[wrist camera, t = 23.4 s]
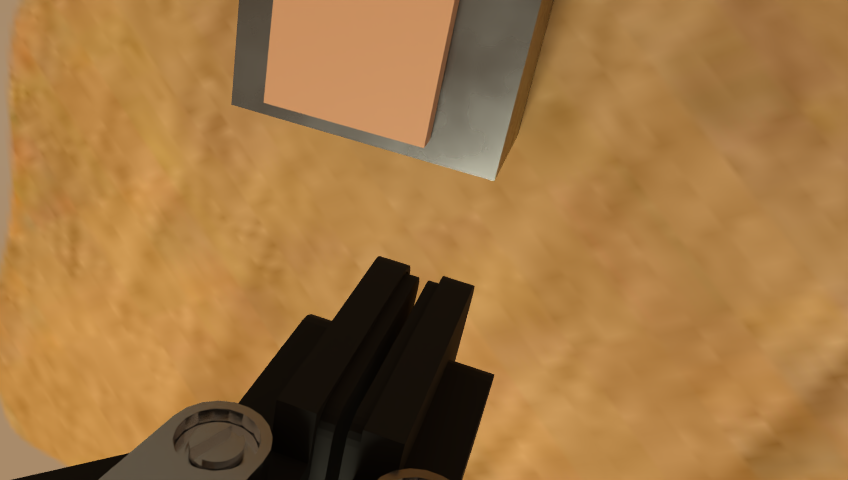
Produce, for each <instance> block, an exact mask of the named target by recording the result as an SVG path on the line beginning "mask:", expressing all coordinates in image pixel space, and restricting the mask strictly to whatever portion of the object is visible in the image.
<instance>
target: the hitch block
mask: <svg viewBox="0 0 848 480" xmlns="http://www.w3.org/2000/svg"><path fill="white" fill-rule="evenodd" d="M553 2H554V0H459V5H458V10H457V14H456V19H455V24H454V29H453V33H452V38H451V43H450V47H449V52H448V57H447V62H446V66H445V71H444V76H443V81H442V85H441V90H440V95H439V100H438V104H437V109H436V114H435V119H434V123H433V128H432V133H431V138H430V141H429V142H428V143H427V145H426V146H425V147H424V148H422V147H418V146H414V145H411V144H407V143H404V142H400V141H397V140H393V139H390V138H386V137H383V136H379V135H376V134H372V133H369V132H365V131H362V130H358V129H354V128H351V127H347V126H344V125H340V124H337V123H333V122H330V121H326V120H323V119H319V118H316V117H312V116H309V115H305V114H302V113H298V112H295V111H291V110H287V109H284V108H280V107H277V106H273V105H270V104H266V103H264V93H265V82H266V72H267V61H268V50H269V40H270V29H271V19H272V8H273V0H239V10H238V23H237V37H236V50H235V64H234V77H233V91H232V104H231V105H235V106H238V107H242V108H245V109H248V110H252V111H255V112H259V113H262V114H266V115H269V116H272V117H276V118H279V119H283V120H286V121H290V122H293V123H296V124H300V125H303V126H307V127H310V128H314V129H317V130H320V131H324V132H327V133H331V134H334V135H338V136H341V137H344V138H348V139H351V140H355V141H358V142H362V143H365V144H368V145H372V146H375V147H379V148H382V149H386V150H389V151H392V152H396V153H399V154H403V155H406V156H410V157H413V158H416V159H420V160H423V161H427V162H430V163H433V164H437V165H440V166H444V167H447V168H451V169H454V170H457V171H461V172H464V173H468V174H471V175H475V176H478V177H481V178H485V179H488V180H492V181H495V179H496V177H497V175H498V173H499V171H500V169H501V167H502V165H503V163H504V161H505V159H506V157H507V155H508V153H509V151H510V149H511V147H512V146H513V144H514V142H515V140H516V138H517V135H518V131H519V128H520V124H521V120H522V117H523V113H524V109H525V106H526V102H527V98H528V94H529V91H530V87H531V83H532V80H533V76H534V72H535V68H536V65H537V61H538V57H539V54H540V50H541V46H542V42H543V39H544V35H545V31H546V28H547V24H548V20H549V16H550V13H551V9H552V5H553Z"/></svg>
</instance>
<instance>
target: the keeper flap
mask: <svg viewBox="0 0 848 480" xmlns="http://www.w3.org/2000/svg"><path fill="white" fill-rule="evenodd" d="M458 5H459V0H273V8H272V19H271V29H270V40H269V50H268V61H267V72H266V82H265V93H264V103H266V104H270V105H273V106H277V107H280V108H284V109H287V110H291V111H295V112H298V113H302V114H305V115H309V116H312V117H316V118H319V119H323V120H326V121H330V122H333V123H337V124H340V125H344V126H347V127H351V128H354V129H358V130H362V131H365V132H369V133H372V134H376V135H379V136H383V137H386V138H390V139H393V140H397V141H400V142H404V143H407V144H411V145H414V146H418V147H422V148H424V147H425V146H426V145H427V143H428V142H429V141H430V138H431V133H432V128H433V123H434V119H435V114H436V109H437V104H438V100H439V95H440V90H441V85H442V81H443V76H444V71H445V66H446V62H447V57H448V52H449V47H450V43H451V38H452V33H453V29H454V24H455V19H456V14H457V10H458Z"/></svg>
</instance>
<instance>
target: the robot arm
mask: <svg viewBox="0 0 848 480" xmlns="http://www.w3.org/2000/svg"><path fill="white" fill-rule="evenodd" d="M418 286H419V277H416V276H413V275H410V266H409V265H406V264H403V263H400V262H397V261H393V260H390V259H387V258H384V257H381V256H378V257H377V258H376V260H375V261H374V262H373V264H372V265H371V267H370V268H369V270H368V271H367V272H366V274H365V275H364V277H363V278H362V279H361V281H360V282H359V284H358V285H357V286H356V288H355V289H354V291H353V292H352V294H351V295H350V296H349V298H348V299H347V301H346V302H345V303H344V305H343V306H342V308H341V309H340V311H339V312H338V313H337V315H336V316H335V318H334V319H333V320H332V321H330V320H327V319H324V318H321V317H318V316H315V315H312V314H310V315H307V316H306V317H305V318H304V319H303V320H302V322H301V323H300V324H299V325H298V327H297V328H296V329H295V331H294V332H293V333H292V335H291V336H290V337H289V338H288V340H287V341H286V342H285V344H284V345H283V346H282V347H281V349H280V350H279V351H278V353H277V354H276V355H275V357H274V358H273V359H272V360H271V362H270V363H269V364H268V366H267V367H266V368H265V370H264V371H263V372H262V373H261V375H260V376H259V377H258V379H257V380H256V381H255V382H254V384H253V385H252V386H251V388H250V389H249V390H248V392H247V393H246V394H245V395H244V397H243V398H242V399H241V401H240V402H239V403H235V402H225V401H211V402H202V403H199V404H196V405H193V406H190V407H187V408H185V409H184V410H182V411H180V412H179V413H177V414H176V415H174V416H173V417H172V418H170V419H169V420H168V421H167V422H166V423H165V424H163V425H162V426H161V427H160V428H159V429H157V430H156V431H155V432H154V433H153V434H152V435H150V436H149V437H148V438H147V439H146V440H144V441H143V442H142V443H141V444H140V445H139V446H137V447H136V448H135V449H134V450H133V451H131V452H130V453H128V454H123V455H119V456H115V457H110V458H106V459H101V460H97V461H92V462H88V463H84V464H79V465H75V466H70V467H66V468H62V469H58V470H53V471H49V472H44V473H40V474H35V475H31V476H26V477H22V478H17V479H13V480H462V479H463V475H464V472H465V469H466V466H467V463H468V460H469V456H470V453H471V450H472V447H473V444H474V440H475V437H476V434H477V431H478V427H479V424H480V421H481V418H482V414H483V411H484V408H485V405H486V401H487V398H488V395H489V391H490V388H491V385H492V381H493V378H494V374H491V373H488V372H485V371H482V370H479V369H476V368H473V367H470V366H467V365H464V364H461V363H458V362H455V359H456V355H457V352H458V348H459V344H460V340H461V337H462V333H463V329H464V326H465V322H466V318H467V314H468V311H469V307H470V303H471V299H472V296H473V292H474V286H473V285H470V284H467V283H464V282H460V281H457V280H454V279H451V278H448V277H445V276H443V277H442V279H441V280H440V282H439V284H438V283H435V282H432V281H428V282H427V283H426V285H425V287H424V289H423V291H422V293H421V294H420V296H419V298H418V300H417V302H416V304H415V305H414V303H415V299H416V295H417V290H418Z"/></svg>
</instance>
